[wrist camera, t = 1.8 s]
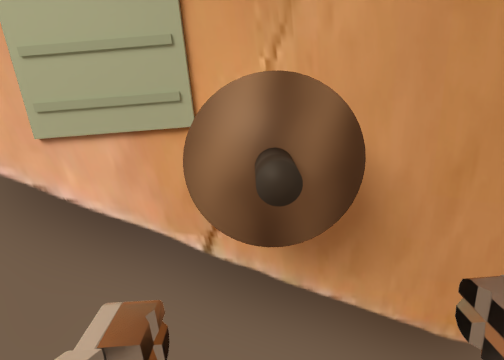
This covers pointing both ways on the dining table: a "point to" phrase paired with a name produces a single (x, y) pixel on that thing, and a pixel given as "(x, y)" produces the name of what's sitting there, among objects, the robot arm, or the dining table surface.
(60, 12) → the trivet
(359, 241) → the dining table surface
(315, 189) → the lid
